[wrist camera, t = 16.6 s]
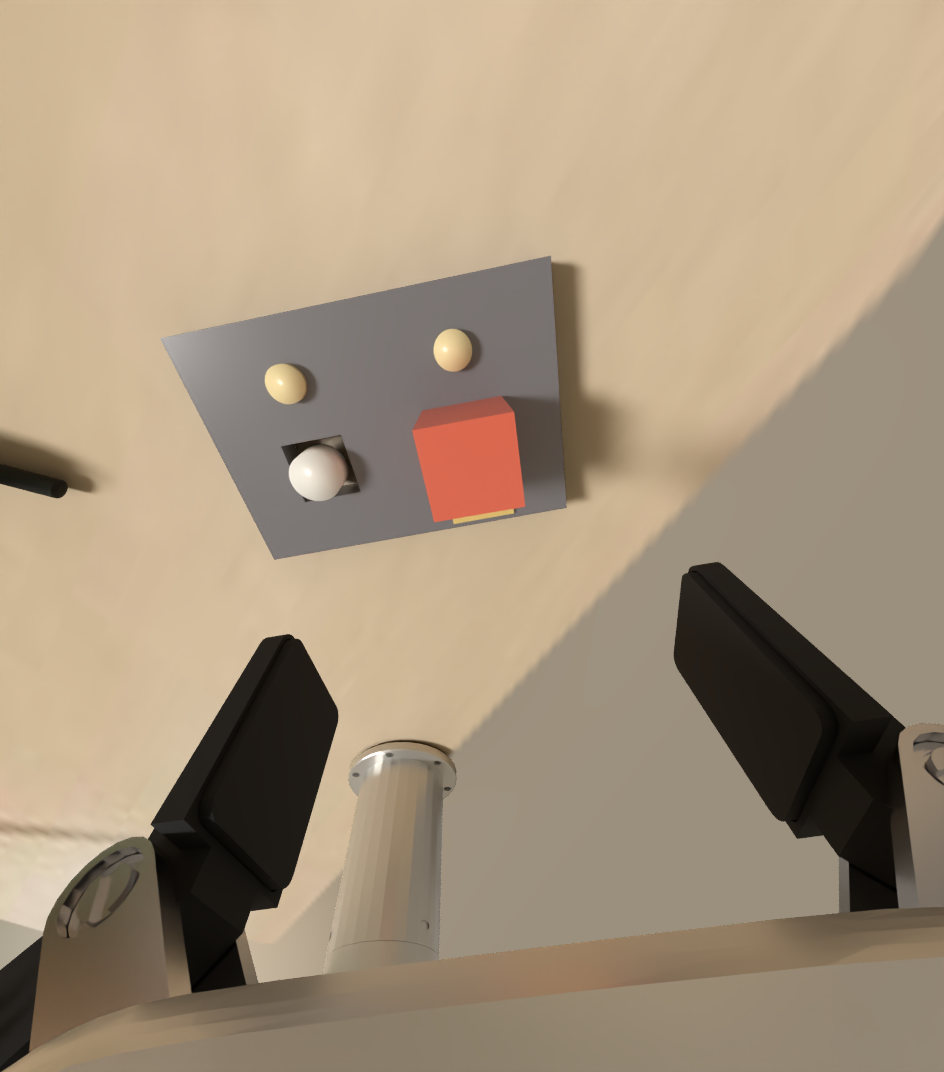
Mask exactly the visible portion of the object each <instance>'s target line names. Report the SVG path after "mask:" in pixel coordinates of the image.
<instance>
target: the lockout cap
mask: <svg viewBox="0 0 944 1072" xmlns="http://www.w3.org/2000/svg"><path fill="white" fill-rule="evenodd" d="M412 432H413V436H414V441H415V445H416V449H417V453H418V457H419V461H420V466H421V470H422V474H423V478H424V482H425V486H426V490H427V495H428V499H429V503H430V507H431V511H432V515H433V520H434V522H439V521H445V520H451V519H457V518H462V517H468V516H474V515H480V514H486V513H492V512H497V511H503V510H509V509H515V508H521V507H525V500H524V491H523V483H522V474H521V466H520V457H519V449H518V440H517V432H516V423H515V415H514V411H513V410H512V408H511V407H510V406H509V405H508V403H507V402H506V401H505V400H504V398H503V397H502V396H497V397H492V398H487V399H481V400H476V401H471V402H465V403H460V404H455V405H449V406H444V407H438V408H433V409H428V410H422V412H421V414H420V416H419V418H418V420H417V422H416V424H415V426H414V428H413V430H412Z"/></svg>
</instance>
